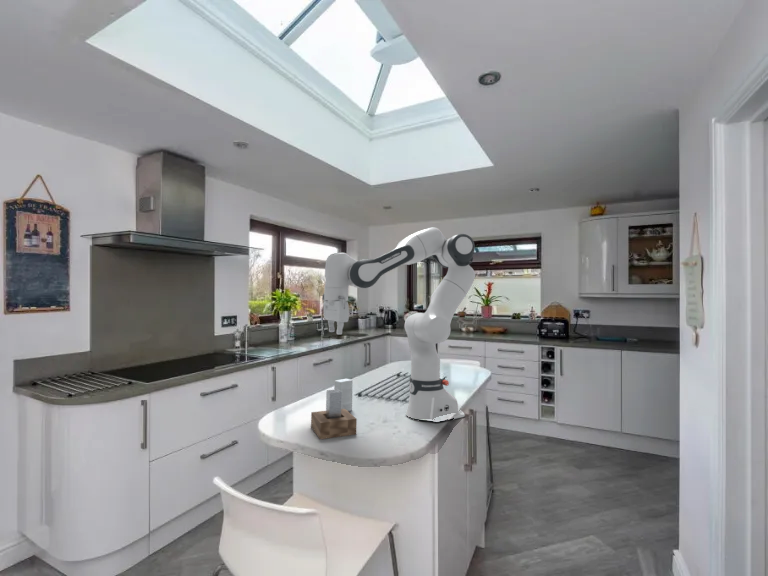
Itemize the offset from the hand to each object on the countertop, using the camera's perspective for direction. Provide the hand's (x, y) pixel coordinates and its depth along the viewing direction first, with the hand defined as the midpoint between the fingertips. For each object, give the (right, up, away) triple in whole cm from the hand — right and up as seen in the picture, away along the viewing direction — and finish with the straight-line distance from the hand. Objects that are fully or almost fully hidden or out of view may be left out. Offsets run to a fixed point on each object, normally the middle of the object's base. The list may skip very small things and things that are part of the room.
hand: (335, 333), depth 139 cm
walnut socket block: (+1, -31, -14) cm, 34 cm away
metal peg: (+1, -30, -14) cm, 33 cm away
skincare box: (+2, -32, +8) cm, 33 cm away
